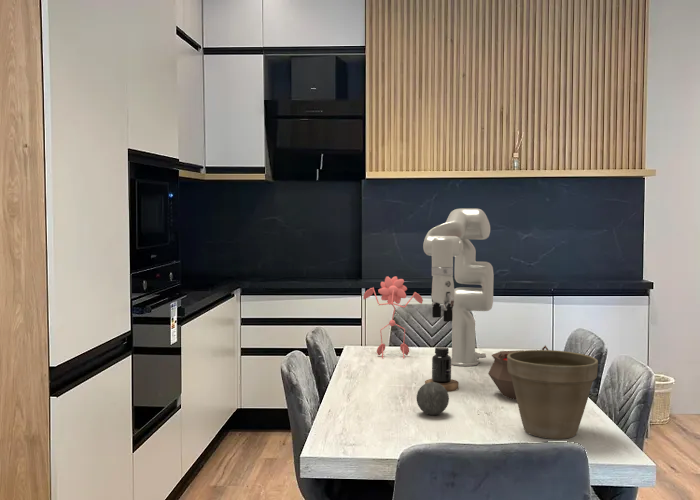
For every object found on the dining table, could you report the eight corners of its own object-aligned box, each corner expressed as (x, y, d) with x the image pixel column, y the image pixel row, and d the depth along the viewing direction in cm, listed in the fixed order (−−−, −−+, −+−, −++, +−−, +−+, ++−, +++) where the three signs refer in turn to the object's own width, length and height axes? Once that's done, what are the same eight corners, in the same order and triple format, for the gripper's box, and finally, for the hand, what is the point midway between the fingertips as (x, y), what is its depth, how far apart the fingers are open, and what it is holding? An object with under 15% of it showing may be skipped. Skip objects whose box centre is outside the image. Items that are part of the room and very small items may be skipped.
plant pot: (579, 419, 222) (580, 348, 221) (611, 444, 197) (612, 365, 196) (497, 420, 221) (498, 348, 220) (519, 446, 196) (519, 366, 195)
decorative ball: (415, 418, 223) (415, 385, 223) (417, 409, 233) (417, 378, 233) (448, 419, 222) (448, 386, 221) (448, 410, 232) (448, 379, 231)
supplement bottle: (452, 383, 259) (452, 349, 258) (432, 383, 259) (433, 349, 258) (449, 379, 266) (450, 346, 265) (431, 379, 266) (431, 346, 265)
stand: (449, 382, 270) (450, 376, 269) (464, 390, 258) (464, 384, 258) (419, 385, 266) (419, 379, 266) (433, 392, 255) (433, 386, 254)
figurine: (423, 358, 313) (423, 277, 312) (363, 358, 314) (363, 277, 313) (421, 352, 329) (421, 275, 328) (364, 352, 330) (363, 275, 329)
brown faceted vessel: (525, 408, 234) (526, 358, 233) (473, 393, 254) (473, 346, 253) (575, 398, 247) (575, 350, 246) (522, 384, 267) (522, 339, 266)
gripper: (462, 273, 254) (462, 322, 255) (441, 269, 271) (441, 315, 272) (442, 274, 252) (442, 323, 253) (423, 270, 268) (423, 316, 269)
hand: (442, 319), depth 262 cm, fingers open, 9 cm apart
